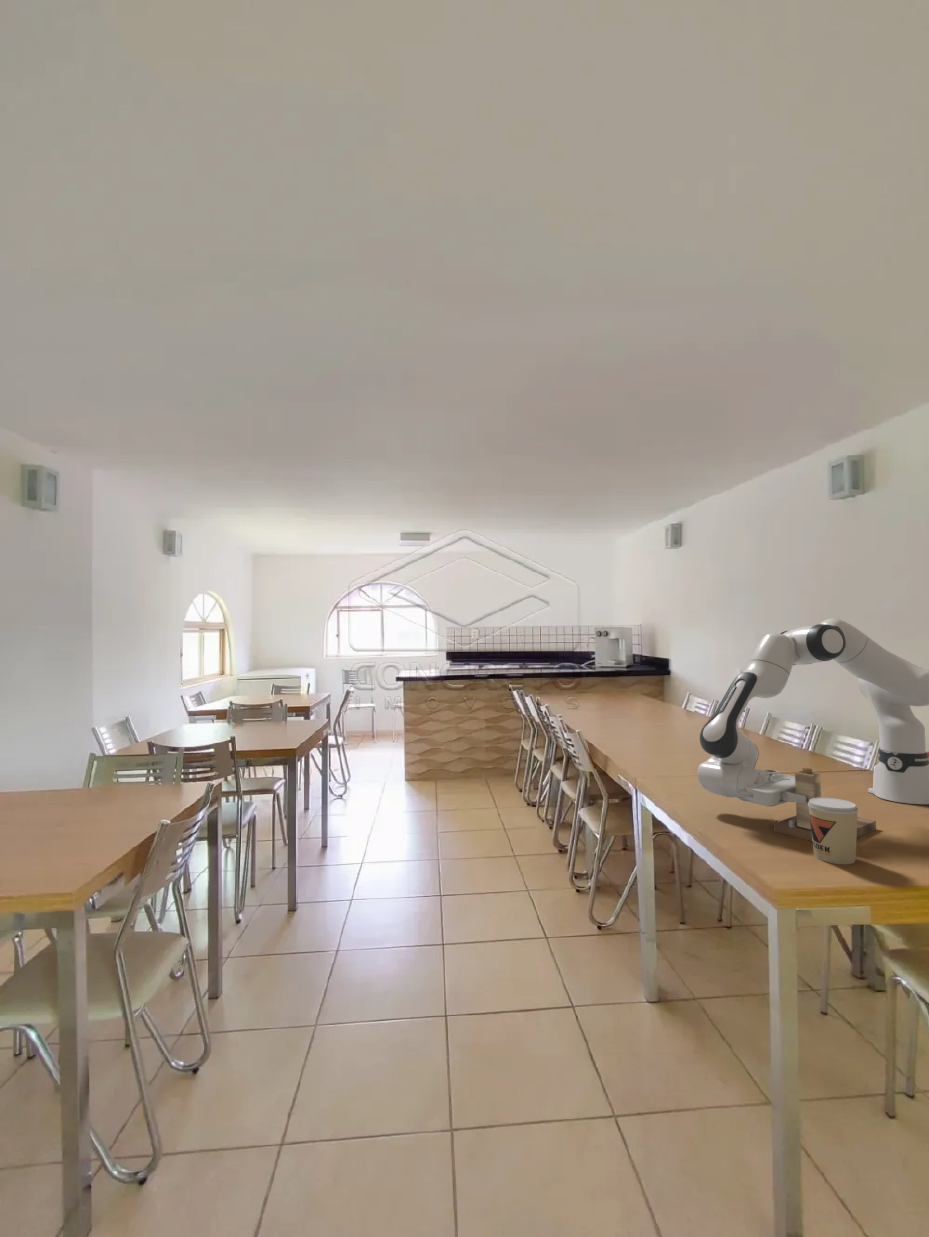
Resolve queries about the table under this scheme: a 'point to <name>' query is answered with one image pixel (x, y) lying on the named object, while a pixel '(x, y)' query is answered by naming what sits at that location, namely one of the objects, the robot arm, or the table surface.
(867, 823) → the board
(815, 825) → the coffee cup
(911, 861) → the table surface
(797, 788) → the beige tall block
